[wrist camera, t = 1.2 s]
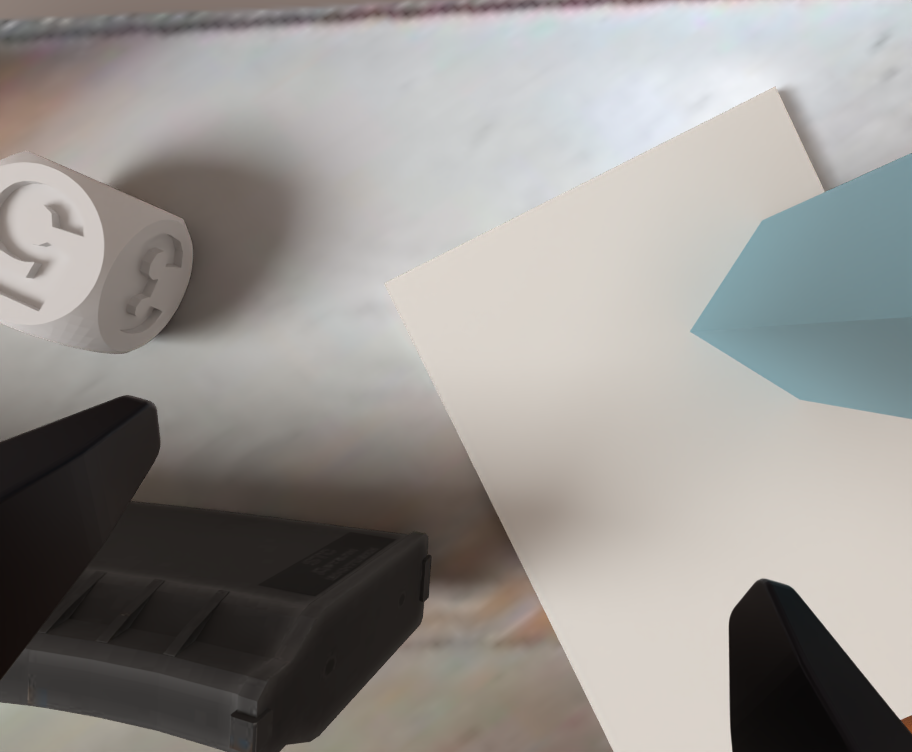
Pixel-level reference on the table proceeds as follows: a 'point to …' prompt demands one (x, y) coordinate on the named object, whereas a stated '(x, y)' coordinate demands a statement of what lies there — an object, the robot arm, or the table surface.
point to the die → (86, 258)
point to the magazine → (225, 626)
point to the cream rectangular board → (664, 433)
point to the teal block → (827, 296)
